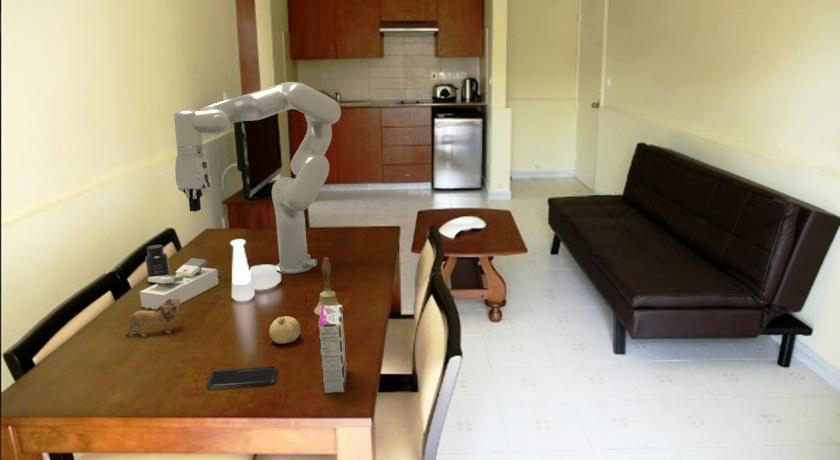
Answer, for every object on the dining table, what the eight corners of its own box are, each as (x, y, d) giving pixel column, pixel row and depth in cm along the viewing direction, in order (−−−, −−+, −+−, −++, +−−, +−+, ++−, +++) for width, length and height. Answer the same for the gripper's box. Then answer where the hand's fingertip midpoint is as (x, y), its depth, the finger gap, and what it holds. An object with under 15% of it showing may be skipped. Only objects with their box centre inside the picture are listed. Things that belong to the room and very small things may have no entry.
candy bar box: (325, 370, 153) (320, 305, 148) (347, 369, 153) (343, 303, 149) (322, 394, 142) (317, 325, 138) (345, 393, 142) (341, 323, 138)
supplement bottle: (174, 278, 219) (170, 243, 215) (164, 285, 212) (160, 249, 209) (155, 277, 219) (150, 243, 216) (144, 284, 213) (139, 249, 210)
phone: (274, 382, 146) (205, 386, 145) (274, 386, 147) (206, 391, 145) (278, 366, 154) (213, 370, 153) (278, 370, 154) (213, 374, 153)
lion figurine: (182, 323, 181) (178, 293, 179) (184, 330, 177) (180, 299, 174) (124, 334, 175) (119, 303, 173) (125, 342, 171) (120, 310, 168)
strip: (230, 277, 217) (228, 261, 216) (166, 311, 190) (163, 292, 189) (208, 275, 221) (206, 258, 219) (142, 307, 194) (139, 289, 192)
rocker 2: (208, 264, 209) (206, 259, 208) (192, 278, 202) (190, 272, 201) (193, 262, 211) (191, 257, 210) (177, 276, 204) (175, 270, 204)
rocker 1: (182, 282, 198) (183, 276, 198) (163, 285, 191) (164, 278, 191) (167, 280, 201) (167, 274, 200) (147, 283, 193) (148, 276, 193)
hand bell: (326, 303, 193) (322, 252, 189) (348, 308, 189) (345, 256, 185) (308, 313, 186) (304, 260, 182) (331, 318, 182) (327, 264, 178)
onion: (267, 337, 172) (265, 312, 170) (297, 332, 174) (295, 307, 172) (273, 349, 164) (270, 323, 162) (304, 343, 167) (302, 318, 165)
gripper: (218, 151, 198) (223, 210, 203) (179, 148, 203) (184, 206, 208) (202, 154, 191) (207, 215, 196) (161, 151, 196) (167, 211, 201)
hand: (195, 210), depth 202 cm, fingers closed
